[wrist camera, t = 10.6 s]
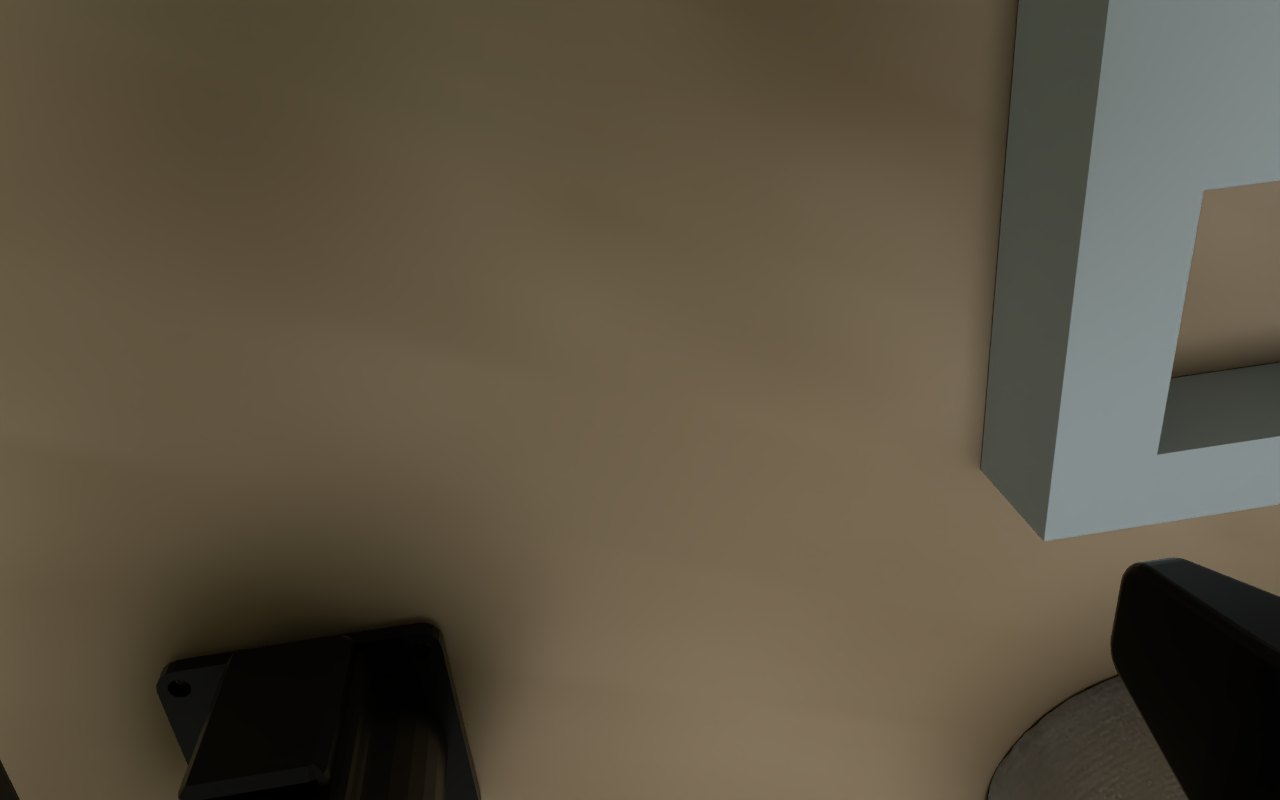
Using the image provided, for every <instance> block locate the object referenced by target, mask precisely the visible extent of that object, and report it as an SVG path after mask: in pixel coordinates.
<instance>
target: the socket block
mask: <svg viewBox="0 0 1280 800" xmlns="http://www.w3.org/2000/svg"><path fill="white" fill-rule="evenodd" d="M1272 181H1280V0H1019V4H1018V16H1017V29H1016V41H1015V53H1014V66H1013V78H1012V91H1011V103H1010V115H1009V128H1008V140H1007V152H1006V165H1005V177H1004V189H1003V202H1002V214H1001V226H1000V239H999V251H998V263H997V276H996V288H995V300H994V313H993V325H992V338H991V350H990V362H989V375H988V387H987V399H986V412H985V424H984V436H983V449H982V461H981V471H982V472H983V473H984V474H985V475H986V477H987V478H988V479H989V480H990V481H991V482H992V483H993V484H994V486H995V487H996V488H997V489H998V490H999V491H1000V492H1001V493H1002V495H1003V496H1004V497H1005V498H1006V499H1007V500H1008V501H1009V502H1010V504H1011V505H1012V506H1013V507H1014V508H1015V509H1016V510H1017V511H1018V513H1019V514H1020V515H1021V516H1022V517H1023V518H1024V519H1025V520H1026V522H1027V523H1028V524H1029V525H1030V526H1031V527H1032V528H1033V530H1034V531H1035V532H1036V533H1037V534H1038V535H1039V536H1040V537H1041V539H1042V540H1043V541H1049V540H1056V539H1062V538H1068V537H1075V536H1081V535H1087V534H1094V533H1100V532H1106V531H1113V530H1119V529H1126V528H1132V527H1138V526H1145V525H1151V524H1157V523H1164V522H1170V521H1176V520H1183V519H1189V518H1195V517H1202V516H1208V515H1214V514H1221V513H1227V512H1233V511H1240V510H1246V509H1252V508H1259V507H1265V506H1271V505H1278V504H1280V363H1273V364H1267V365H1260V366H1253V367H1246V368H1239V369H1232V370H1225V371H1218V372H1212V373H1205V374H1198V375H1191V376H1184V377H1177V378H1171V374H1172V368H1173V362H1174V357H1175V351H1176V345H1177V340H1178V334H1179V328H1180V323H1181V317H1182V311H1183V306H1184V300H1185V294H1186V289H1187V283H1188V277H1189V272H1190V266H1191V260H1192V255H1193V249H1194V243H1195V238H1196V232H1197V226H1198V221H1199V215H1200V209H1201V204H1202V198H1203V192H1204V190H1210V189H1218V188H1226V187H1234V186H1241V185H1249V184H1257V183H1264V182H1272Z"/></svg>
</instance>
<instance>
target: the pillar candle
mask: <svg viewBox="0 0 1280 800" xmlns="http://www.w3.org/2000/svg"><path fill="white" fill-rule="evenodd" d="M988 800H1188V799H1187V798H1186V796H1185V794H1184V792H1183V790H1182V789H1181V787H1180V785H1179V783H1178V781H1177V780H1176V778H1175V776H1174V774H1173V772H1172V770H1171V769H1170V767H1169V765H1168V763H1167V761H1166V760H1165V758H1164V756H1163V754H1162V752H1161V751H1160V749H1159V747H1158V745H1157V743H1156V742H1155V740H1154V738H1153V736H1152V734H1151V733H1150V731H1149V729H1148V727H1147V725H1146V724H1145V722H1144V720H1143V718H1142V716H1141V714H1140V713H1139V711H1138V709H1137V707H1136V705H1135V704H1134V702H1133V700H1132V698H1131V696H1130V695H1129V693H1128V691H1127V689H1126V687H1125V686H1124V684H1123V682H1122V680H1121V678H1120V677H1119V676H1118V677H1115V678H1112V679H1109V680H1107V681H1104V682H1102V683H1100V684H1098V685H1096V686H1094V687H1092V688H1089V689H1088V690H1086V691H1084V692H1082V693H1080V694H1079V695H1075V696H1074V697H1072V698H1070V699H1068V700H1067V701H1065V702H1064V703H1063V704H1061V705H1060V706H1058V707H1057V708H1056V709H1054V710H1053V711H1052V712H1050V713H1049V714H1047V715H1046V716H1045V717H1043V718H1042V719H1041V720H1040V722H1039V723H1038V724H1036V725H1035V726H1034V727H1032V728H1031V729H1030V730H1028V731H1027V732H1025V733H1024V735H1023V736H1022V737H1021V738H1020V739H1019V740H1018V741H1017V743H1016V744H1015V745H1013V748H1012V750H1011V752H1010V753H1009V754H1008V755H1007V756H1006V757H1005V758H1004V759H1003V760H1002V762H1001V763H1000V765H999V766H998V768H997V770H996V772H995V774H994V776H993V779H992V782H991V785H990V790H989V794H988Z"/></svg>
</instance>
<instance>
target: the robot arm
mask: <svg viewBox="0 0 1280 800" xmlns="http://www.w3.org/2000/svg"><path fill="white" fill-rule="evenodd" d="M417 642H425V643H427V644H429V646H427V647H424V648H418V647H416V646H414V645H413V644H414V643H417ZM1111 655H1112V659H1113V663H1114V665H1115V668H1116V670H1117V673H1118V675H1119V677H1120V678H1121V680H1122V682H1123V684H1124V686H1125V687H1126V689H1127V691H1128V693H1129V695H1130V696H1131V698H1132V700H1133V702H1134V704H1135V705H1136V707H1137V709H1138V711H1139V713H1140V714H1141V716H1142V718H1143V720H1144V722H1145V724H1146V725H1147V727H1148V729H1149V731H1150V733H1151V734H1152V736H1153V738H1154V740H1155V742H1156V743H1157V745H1158V747H1159V749H1160V751H1161V752H1162V754H1163V756H1164V758H1165V760H1166V761H1167V763H1168V765H1169V767H1170V769H1171V770H1172V772H1173V774H1174V776H1175V778H1176V780H1177V781H1178V783H1179V785H1180V787H1181V789H1182V790H1183V792H1184V794H1185V796H1186V798H1187V799H1188V800H1280V597H1279V596H1276V595H1274V594H1271V593H1269V592H1266V591H1264V590H1261V589H1259V588H1256V587H1254V586H1251V585H1248V584H1246V583H1243V582H1241V581H1238V580H1236V579H1233V578H1231V577H1228V576H1226V575H1223V574H1221V573H1218V572H1216V571H1213V570H1210V569H1208V568H1205V567H1203V566H1200V565H1198V564H1195V563H1193V562H1190V561H1188V560H1185V559H1181V558H1166V559H1159V560H1152V561H1145V562H1139V563H1135V564H1133V565H1131V566H1129V567H1128V568H1127V569H1126V571H1125V572H1124V574H1123V577H1122V580H1121V585H1120V591H1119V596H1118V602H1117V607H1116V613H1115V618H1114V624H1113V629H1112V635H1111ZM175 680H182V681H185V682H187V683H188V684H189V685H181V684H179V683H177V682H176V681H175ZM156 688H157V693H158V696H159V698H160V700H161V703H162V705H163V707H164V710H165V712H166V714H167V717H168V719H169V721H170V724H171V726H172V729H173V731H174V733H175V736H176V738H177V740H178V743H179V745H180V747H181V750H182V752H183V755H184V757H185V759H186V762H187V764H188V768H187V770H186V773H185V776H184V778H183V781H182V784H181V786H180V789H179V792H178V798H179V800H481V796H480V791H479V787H478V783H477V779H476V774H475V770H474V766H473V762H472V757H471V753H470V749H469V745H468V741H467V736H466V732H465V728H464V724H463V719H462V715H461V711H460V707H459V702H458V698H457V694H456V690H455V686H454V681H453V677H452V673H451V669H450V664H449V660H448V656H447V652H446V647H445V643H444V639H443V635H442V633H441V632H440V630H439V629H438V628H437V627H435V626H434V625H431V624H428V623H413V624H407V625H400V626H394V627H388V628H381V629H375V630H368V631H362V632H356V633H349V634H343V635H335V636H329V637H322V638H316V639H310V640H303V641H297V642H290V643H284V644H277V645H271V646H265V647H258V648H252V649H245V650H239V651H234V652H228V653H221V654H215V655H208V656H202V657H196V658H189V659H183V660H177V661H174V662H171V663H169V664H168V665H167V666H166V667H164V669H163V671H162V674H161V676H160V678H159V680H158V683H157V685H156ZM0 800H20V799H19V797H18V795H17V793H16V791H15V789H14V787H13V785H12V783H11V781H10V779H9V777H8V775H7V773H6V771H5V769H4V767H3V765H2V762H1V760H0Z"/></svg>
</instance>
